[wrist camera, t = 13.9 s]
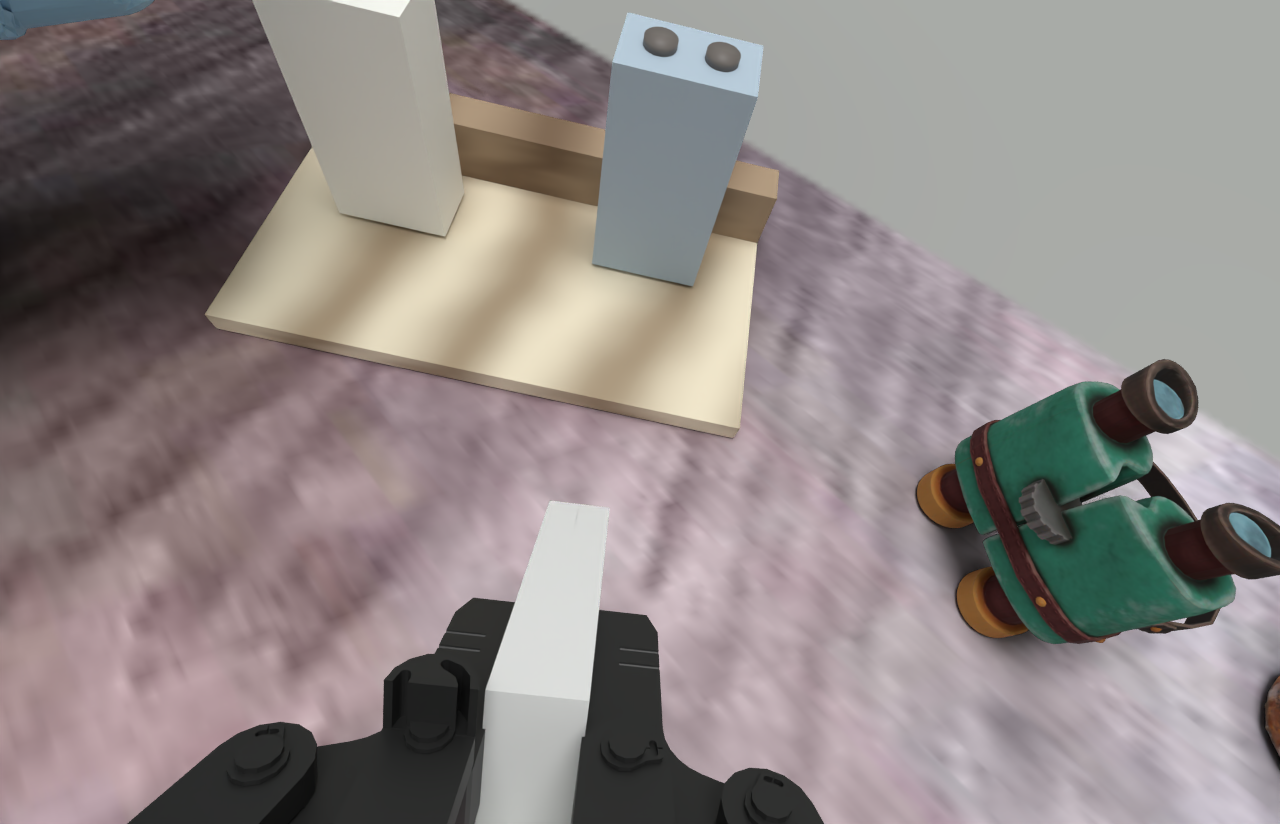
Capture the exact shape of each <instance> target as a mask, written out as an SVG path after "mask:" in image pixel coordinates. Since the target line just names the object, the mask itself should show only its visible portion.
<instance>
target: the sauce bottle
mask: <svg viewBox="0 0 1280 824" xmlns="http://www.w3.org/2000/svg"><path fill="white" fill-rule="evenodd" d="M1264 707H1265V709H1266V710H1265V716H1266V717H1265V721H1266V725H1265V729H1266V730H1267V732H1268V733H1269V736H1270V738H1271V741H1272V743H1273V745H1274V746H1275V749H1276V751H1277V752H1278V754H1279V756H1280V676H1279V677H1278V678H1277V679H1276V681H1275V682H1274V683H1273V685H1272V686H1271V689H1270V690H1269V692H1268V697H1267V702H1266V703H1265V706H1264Z"/></svg>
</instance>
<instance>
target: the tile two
mask: <svg viewBox="0 0 1280 824" xmlns="http://www.w3.org/2000/svg"><path fill="white" fill-rule="evenodd" d="M762 54H763V46H762V45H758V44H754V43H750V42H746V41H742V40H738V39H734V38H730V37H726V36H722V35H717V34H714V33H710V32H706V31H701V30H697V29H693V28H689V27H685V26H681V25H677V24H673V23H669V22H665V21H661V20H657V19H653V18H649V17H644V16H640V15H636V14H632V13H628V14H627V17H626V20H625V23H624V26H623V30H622V33H621V36H620V39H619V43H618V46H617V49H616V52H615V56H614V59H613V62H612V71H611V81H610V91H609V101H608V111H607V120H606V130H605V140H604V150H603V160H602V170H601V180H600V189H599V199H598V209H597V219H596V229H595V239H594V249H593V258H592V264H595V265H600V266H604V267H608V268H613V269H617V270H622V271H626V272H631V273H635V274H640V275H644V276H649V277H653V278H657V279H662V280H666V281H671V282H675V283H680V284H684V285H689V286H693V285H694V282H695V279H696V276H697V273H698V270H699V267H700V264H701V262H702V259H703V256H704V253H705V250H706V247H707V244H708V241H709V238H710V235H711V232H712V229H713V226H714V224H715V221H716V218H717V215H718V212H719V209H720V206H721V203H722V200H723V197H724V194H725V191H726V188H727V186H728V183H729V180H730V177H731V174H732V171H733V168H734V165H735V162H736V159H737V156H738V153H739V150H740V148H741V145H742V142H743V139H744V136H745V133H746V130H747V127H748V124H749V121H750V118H751V115H752V112H753V110H754V107H755V104H756V101H757V98H758V90H759V80H760V72H761V63H762Z"/></svg>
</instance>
